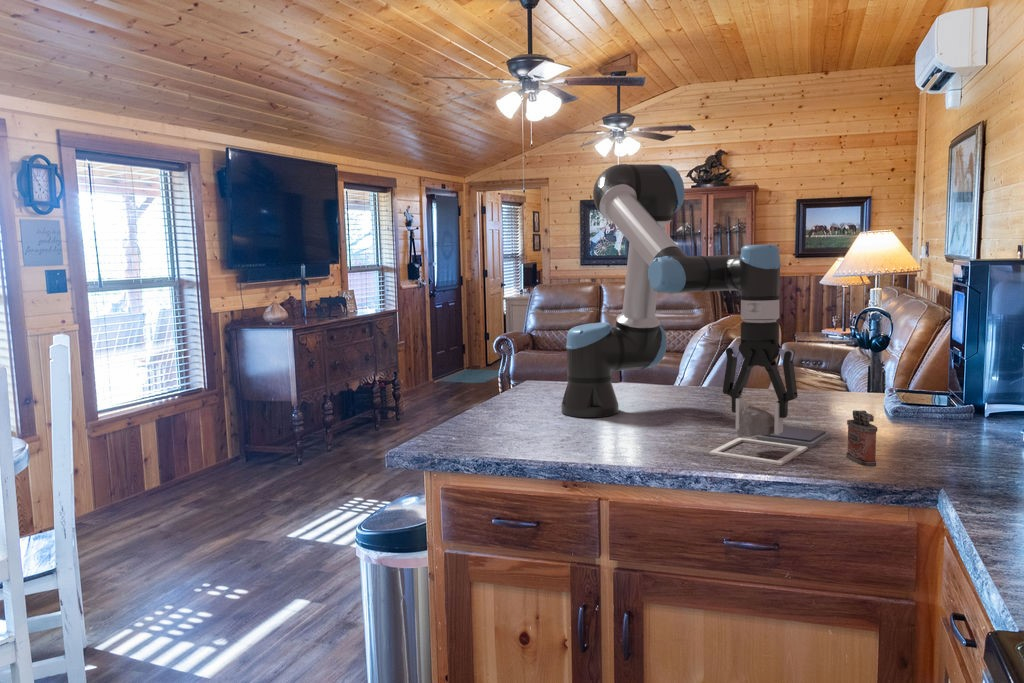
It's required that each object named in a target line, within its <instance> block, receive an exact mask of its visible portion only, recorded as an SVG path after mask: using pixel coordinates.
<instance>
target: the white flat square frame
mask: <svg viewBox="0 0 1024 683" xmlns="http://www.w3.org/2000/svg"><path fill="white" fill-rule="evenodd" d="M741 442H743V443H749V444H755V445H756V444H758V445H763V446H770V447H771V446H772V447H778V448H785V449H792V450H793V451H791V452H789V453H787V454H786V455H785V456H783V457H780V458H779V459H778V460H777V459H776V460H775V459H771V458H763V457H756V456H748V455H743V454H737V453H729V452H724V451H726V450H729V449H730V448H732V447H733V446H736V445H738V444H740V443H741ZM808 449H809V448H808V447H805V446H797V445H790V444H782V443H775V442H768V441H760V440H757V439H752V438H745V437H737V438H735V439H733V440H731V441H729V442H727V443H724V444H723V445H720V446H718V447H715V448H714V449H712V450H711V451H709V452H708V454H709V455H712V456H718V457H725V458H731V459H738V460H745V461H751V462H756V463H757V462H758V463H762V464H769V465H777V466H782V465H784V464H786V463H788V462H789V461H790V460H793V459H794V458H796V457H797V456H799V455H800V454H802V453H804V452H805V451H807V450H808Z"/></svg>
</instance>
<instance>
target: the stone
mask: <svg viewBox="0 0 1024 683" xmlns="http://www.w3.org/2000/svg"><path fill="white" fill-rule="evenodd" d="M774 424H775V414H772V413H770V412H768V410H766V409H761V408H760V407H757V406H752V405H748V407H747V406H746V407H744V410H743V412H742V416H741V423H740V424H739V428H738V430H737V429H736V432H735V434H736V435H737V436H738V437H743V436H745V437H749V438H752V437H754V436H755V437H757V436H758V435H761V436H765V435H770V434H772V433H774Z"/></svg>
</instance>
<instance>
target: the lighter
mask: <svg viewBox="0 0 1024 683" xmlns="http://www.w3.org/2000/svg"><path fill="white" fill-rule="evenodd" d="M874 418H875V416H874V415H873V414H871V413H869V412H867V411H866V410H863V409H862V410H859V409H858V410H857V409H854V410H852V419H848V420H846V425H847V452H846V453H845V454H846V456H845V457H846V459H848V460H850V462H853V463H855V464H857V465H859V466H863V467H866V468H875V467H877V459H876V454H877V451H876V450H877V449H876V448H877V432H878V427H877V426H876V425H874V424H872V423H871V422H874V420H875V419H874Z"/></svg>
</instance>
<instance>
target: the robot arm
mask: <svg viewBox="0 0 1024 683" xmlns="http://www.w3.org/2000/svg"><path fill="white" fill-rule="evenodd" d="M685 192H686V191H685V184H684V181H683V177H681V174H680V172H679V171H678V170H677V169H676V168H675V167H674V166H671V165H665V164H664V165H663V164H659V163H656V164H655V163H653V164H652V163H651V164H650V163H649V164H643V163H641V164H637V163H636V164H633V163H632V164H627V163H619V164H615V165H612V166H609V167H608V168H607V169H605V170H604V171H602V172H601V174H600V175H599V176H598V177H597V179H596V181H595V183H594V185H593V191H592V197H593V198H592V199H593V202H594V205H595V208H596V209H597V211H598V212H599V213H600V215H601V216H602V217H603V218H604V219H605V220H608V221H611V222H612V223H613V224H614V225H615V226H616V228H617V229H618V230H619V231H620V233H622V235H623V236H624V237H625V238H626V240H627V241H628V243H629V244H628V253H627V254H628V255H627V264H626V265H627V266H626V274H625V282H624V284H625V285H624V294H623V305H622V312H621V313H620V314H619V315H618V316H617V317H616V319H615V326H614V327H613V326H612V325H611V323H610V322H595V323H594V322H593V323H586V324H585V323H584V324H580V325H577V326H573V327H572V328H570V329H569V330H568V332H567V334H566V345H565V348H566V366H567V367H566V371H567V373H566V374H567V375H566V376H567V377H566V378H567V383H566V388H565V391H564V395H563V398H562V401H561V404H560V406H561V408H560V409H561V413H562V414H563V415H566V416H570V417H577V418H604V417H610V416H613V415H617V414H618V413H619V402H618V400H617V398H618V397H617V395H616V393H615V392H616V391H615V390H614V386H613V382H612V372H616V371H617V372H618V371H630V370H645V369H649V368H654V367H656V366H658V364H660V363H661V362H662V361H663V359H664V357H665V355H666V352H667V351H666V350H667V344H668V341H667V338H666V335H667V334H666V332H665V330H664V328H663V327H662V326H660V325H661V322H660V320H659V319H658V317H656V311H657V310H656V309H657V301H658V294H659V293H660V294H671V295H672V294H680V293H693V292H694V293H695V292H697V293H698V292H721V291H722V292H723V291H740V318H741V320H743V321H741V323H740V343H739V345H738V346H730V347H727V348H726V349H725V354H726V365H725V371H724V372H725V373H724V379H723V386H722V393H723V394H724V395H727V396H730V399H731V412H732V413H734V414H735V430H736V431H737V430H738V428H739V424H740V423H741V416H742V412H743V410H745V396H742V395H743V390H744V387H745V385H746V383H747V380H748V379H749V375H750V374H751V371H752V369H753V368H754V367H756V366H758V367H762V368H764V369H765V371H766V372H767V374H768V376H769V379H770V381H771V384H772V387H773V389H774V392H775V395H776V397H777V401H775V402H774V415H775V424H774V434H777V435H778V434H780V433H782V432H783V426H784V419H785V418H787V417H788V416H789V415H788V413H789V411H788V409H789V406H788V405H789V401H794V400H796V399H797V398H798V396H799V395H798V389H797V388H798V386H797V382H796V381H797V380H796V374H795V373H796V372H795V367H794V358H795V356H796V355H795V354H796V351H795V350H793V349H790V350H788V349H784V348H782V347H781V344H780V323H779V322H778V321H777V320H779V319H780V293H781V292H780V291H781V290H780V288H781V287H780V286H781V285H780V284H781V283H780V282H781V278H780V277H781V276H780V275H781V265H782V264H781V257H780V248H779V246H778V245H776V244H747V245H746V244H745V245H743V246H742V247H741V248H740V254H739V255H738V254H717V255H694V256H693V255H687V254H686V253H685V252H684V250H682V249H681V247H680V246H679V245H678V244H677V243H676V242H675V241H674V240H673V239H672V237H670V235H669V234H668V233H667V231H665V230H666V227H667V225H669V224H670V223H671V222H672V221H673V219H672V218H673V213H676V212H677V211H680V209H681V208H682V206H683V204H684V201H685V194H686V193H685ZM740 355H741V356H742V357H743V359H744V360H743V361H742V364H741V369H740V371H739V374H738V376H737V378H736V381H735V376H736V373H737V372H736V371H737V366H738V365H737V364H738V357H739V356H740ZM779 355H780V359H781V360H782V367H783V373H784V374H783V375H784V382H785V385H784V382H783V379H782V377H781V374H780V372H779V369H778V368H779V366H778V363H777V362H776V359H777V358H778V357H779Z"/></svg>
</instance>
